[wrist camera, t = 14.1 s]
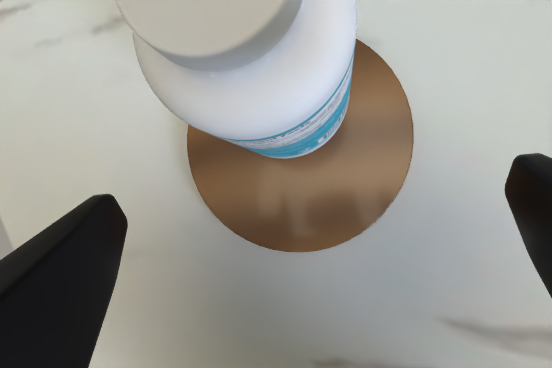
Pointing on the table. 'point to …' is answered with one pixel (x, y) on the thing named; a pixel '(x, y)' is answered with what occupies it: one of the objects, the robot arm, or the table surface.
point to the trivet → (314, 171)
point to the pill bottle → (250, 67)
